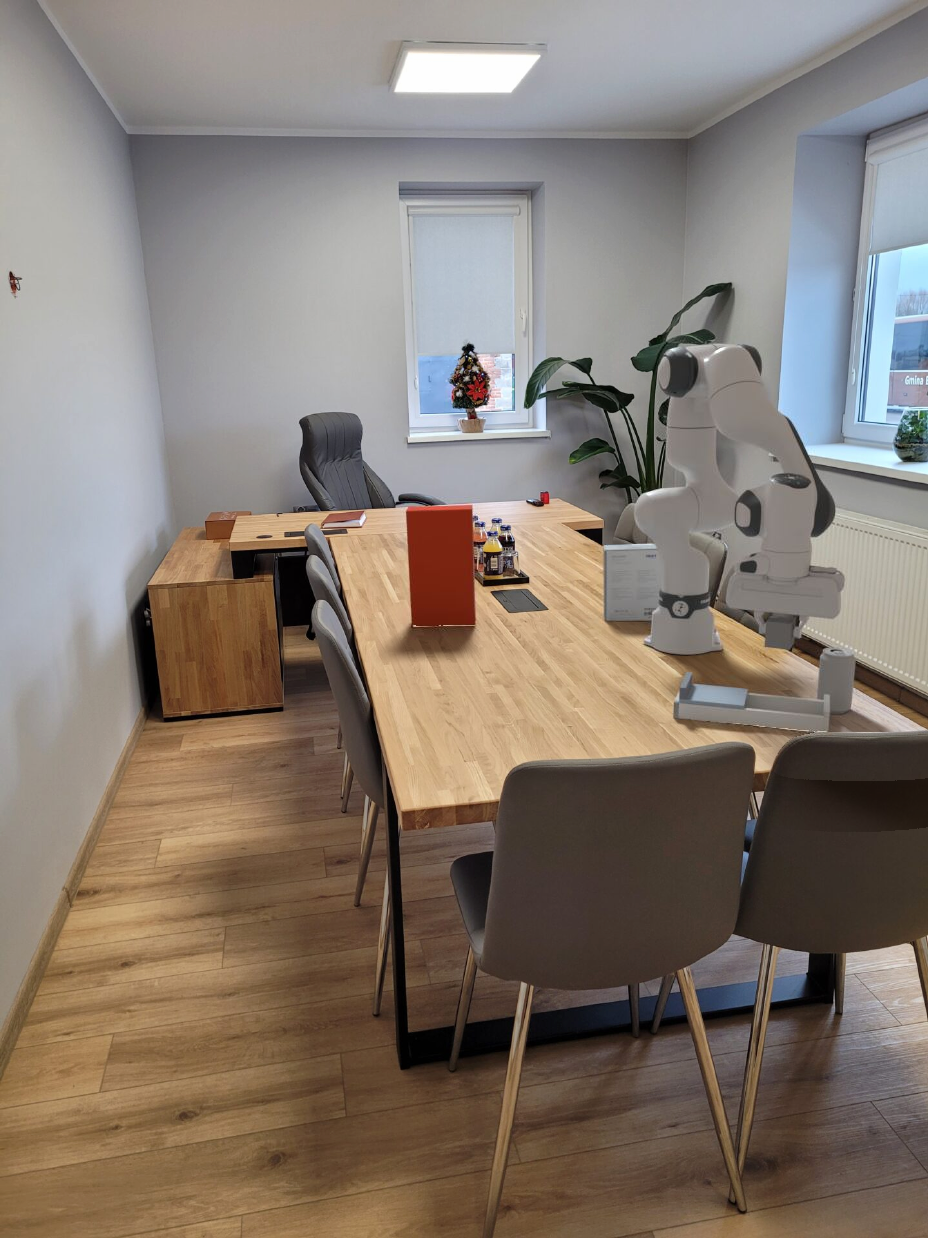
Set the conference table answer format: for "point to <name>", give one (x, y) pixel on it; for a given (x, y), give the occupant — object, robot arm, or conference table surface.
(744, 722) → the tray
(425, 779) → the conference table surface
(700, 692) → the cover
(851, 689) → the beverage can
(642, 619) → the hard drive box
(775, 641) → the block
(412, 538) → the file binder
